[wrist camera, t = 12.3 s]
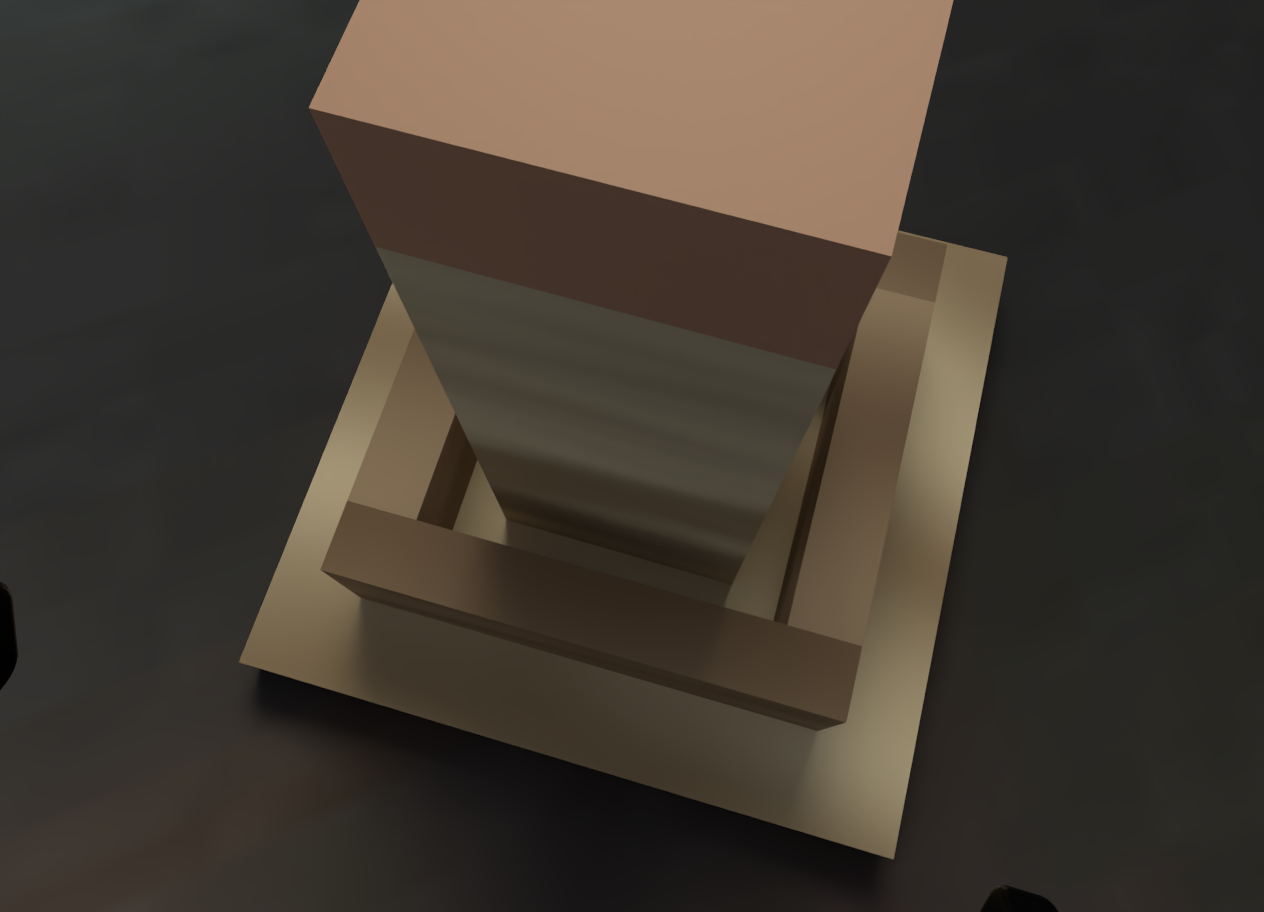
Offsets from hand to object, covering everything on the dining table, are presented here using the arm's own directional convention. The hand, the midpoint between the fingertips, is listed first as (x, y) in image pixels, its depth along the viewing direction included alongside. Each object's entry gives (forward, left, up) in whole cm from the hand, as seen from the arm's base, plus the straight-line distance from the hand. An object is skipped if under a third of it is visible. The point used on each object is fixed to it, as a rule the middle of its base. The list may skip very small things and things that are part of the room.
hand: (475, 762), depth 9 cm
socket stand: (+5, -4, -10) cm, 12 cm away
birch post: (+5, -4, -9) cm, 11 cm away
